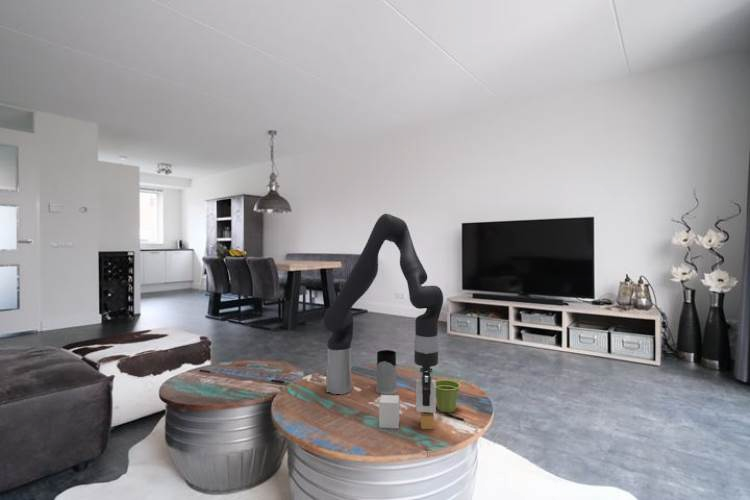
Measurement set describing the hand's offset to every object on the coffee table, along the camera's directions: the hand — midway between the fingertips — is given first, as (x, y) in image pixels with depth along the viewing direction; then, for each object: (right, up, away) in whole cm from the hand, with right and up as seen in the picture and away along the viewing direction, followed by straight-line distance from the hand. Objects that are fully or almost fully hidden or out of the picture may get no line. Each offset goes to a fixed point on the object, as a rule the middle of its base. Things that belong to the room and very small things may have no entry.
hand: (426, 401), depth 119 cm
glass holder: (-11, -8, +33) cm, 35 cm away
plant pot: (+9, -8, +12) cm, 17 cm away
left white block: (-11, -8, +2) cm, 14 cm away
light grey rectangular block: (0, -2, 0) cm, 2 cm away
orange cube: (0, -8, 0) cm, 8 cm away
